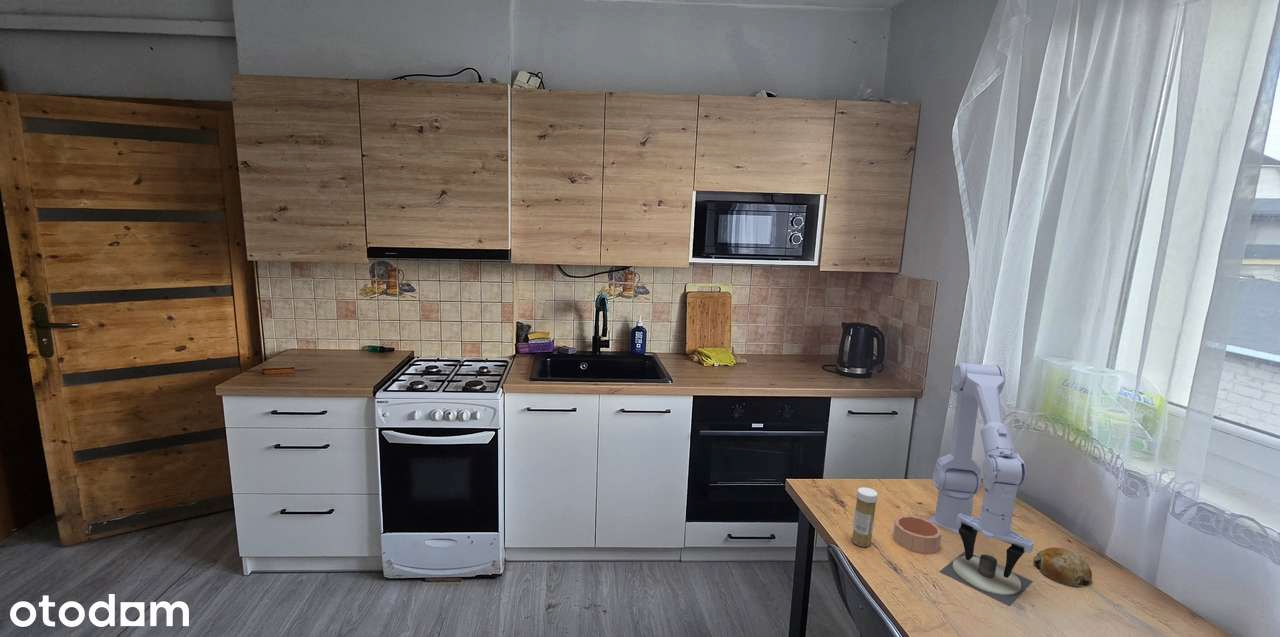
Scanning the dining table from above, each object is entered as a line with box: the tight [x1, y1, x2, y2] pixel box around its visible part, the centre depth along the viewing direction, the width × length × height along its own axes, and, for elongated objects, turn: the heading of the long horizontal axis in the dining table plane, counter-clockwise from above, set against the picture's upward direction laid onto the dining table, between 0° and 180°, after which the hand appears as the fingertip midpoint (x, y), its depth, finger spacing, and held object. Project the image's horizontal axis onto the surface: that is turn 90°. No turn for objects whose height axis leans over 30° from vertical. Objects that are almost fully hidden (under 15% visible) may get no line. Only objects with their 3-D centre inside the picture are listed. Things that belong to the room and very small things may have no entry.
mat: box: [938, 550, 1034, 607], centre depth 126 cm, size 14×14×1 cm
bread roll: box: [1033, 547, 1093, 589], centre depth 128 cm, size 10×10×8 cm
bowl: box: [892, 514, 942, 555], centre depth 138 cm, size 10×10×4 cm
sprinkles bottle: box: [851, 487, 879, 548], centre depth 137 cm, size 5×5×14 cm
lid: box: [953, 553, 1021, 596], centre depth 126 cm, size 13×13×4 cm
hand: (987, 566), depth 125 cm, fingers open, 7 cm apart
